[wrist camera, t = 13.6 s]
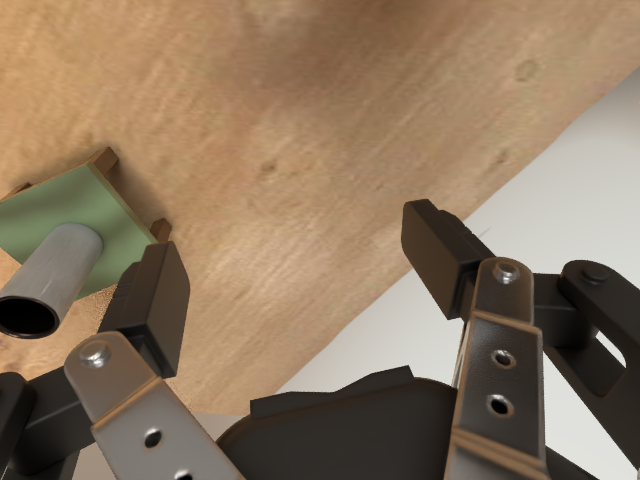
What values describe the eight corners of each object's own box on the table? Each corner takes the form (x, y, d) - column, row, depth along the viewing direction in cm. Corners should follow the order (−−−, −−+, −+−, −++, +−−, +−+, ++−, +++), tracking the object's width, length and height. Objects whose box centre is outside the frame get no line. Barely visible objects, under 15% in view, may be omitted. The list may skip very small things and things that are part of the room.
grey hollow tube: (94, 220, 33) (44, 292, 24) (110, 258, 35) (69, 335, 27) (41, 224, 32) (-30, 300, 23) (61, 262, 34) (3, 344, 26)
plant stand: (8, 185, 36) (-35, 218, 30) (110, 140, 36) (85, 164, 30) (91, 265, 43) (68, 304, 37) (177, 228, 42) (167, 261, 37)
